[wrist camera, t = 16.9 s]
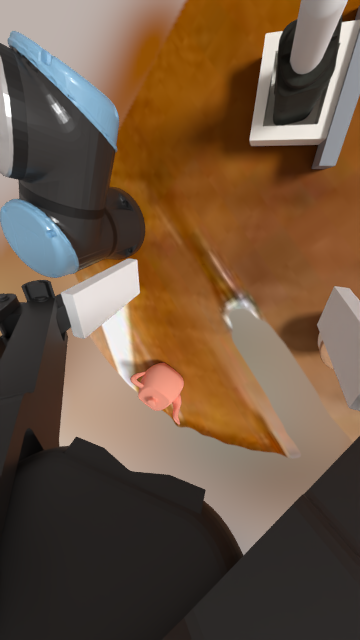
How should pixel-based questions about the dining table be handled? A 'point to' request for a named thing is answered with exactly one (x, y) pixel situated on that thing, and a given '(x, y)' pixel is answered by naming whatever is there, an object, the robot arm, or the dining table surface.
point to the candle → (306, 59)
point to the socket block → (322, 113)
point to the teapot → (160, 388)
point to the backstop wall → (341, 112)
